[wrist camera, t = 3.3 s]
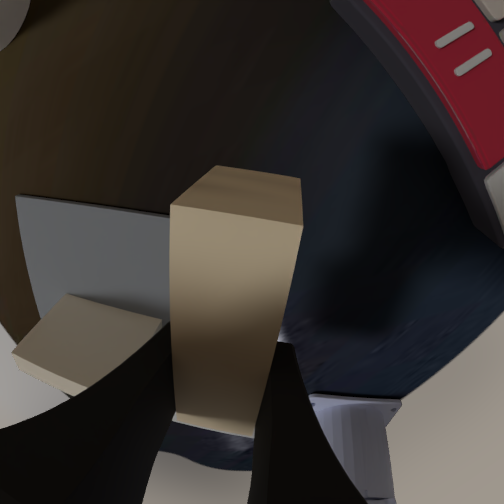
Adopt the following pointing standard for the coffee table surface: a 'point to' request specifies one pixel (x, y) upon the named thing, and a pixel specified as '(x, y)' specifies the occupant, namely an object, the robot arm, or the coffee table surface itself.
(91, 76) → the coffee table surface
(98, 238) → the mat
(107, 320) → the tile
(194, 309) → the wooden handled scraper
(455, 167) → the calculator
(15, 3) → the candle
